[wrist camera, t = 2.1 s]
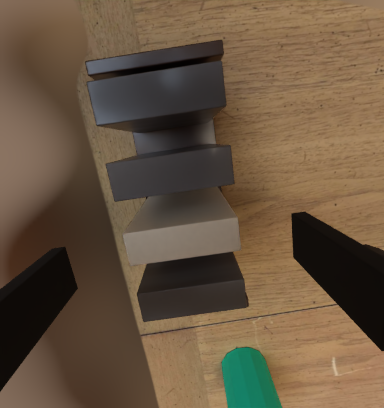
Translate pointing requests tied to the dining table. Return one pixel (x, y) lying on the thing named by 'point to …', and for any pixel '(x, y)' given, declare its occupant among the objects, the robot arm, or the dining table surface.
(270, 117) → the dining table surface
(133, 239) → the cream book
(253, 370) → the candle
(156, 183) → the grey rack
